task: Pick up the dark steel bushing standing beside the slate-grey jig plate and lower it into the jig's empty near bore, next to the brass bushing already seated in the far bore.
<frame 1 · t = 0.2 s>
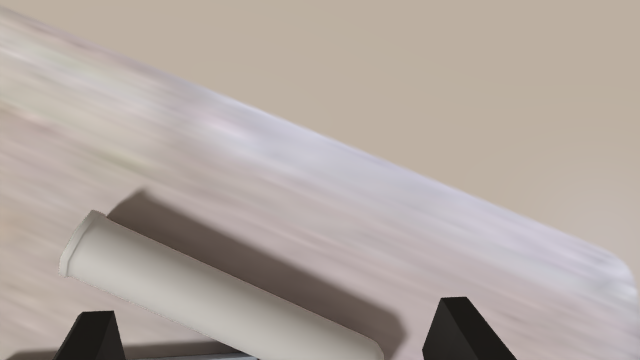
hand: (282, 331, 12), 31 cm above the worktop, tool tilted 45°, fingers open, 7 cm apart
tube: (234, 307, 42), on the worktop
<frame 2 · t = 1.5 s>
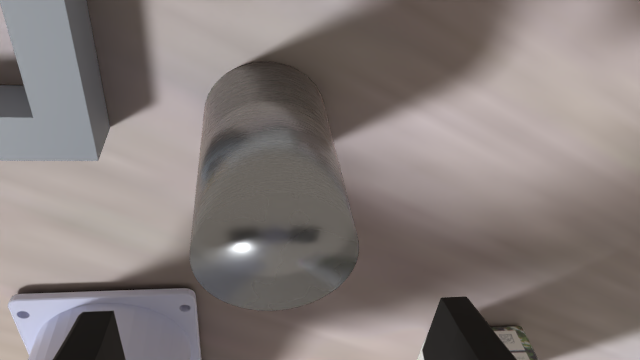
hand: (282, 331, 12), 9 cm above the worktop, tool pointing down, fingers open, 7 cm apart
syrup box: (461, 350, 31), on the worktop
bushing: (265, 117, 19), on the worktop
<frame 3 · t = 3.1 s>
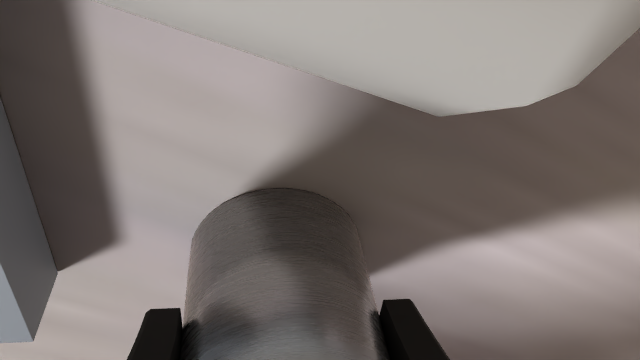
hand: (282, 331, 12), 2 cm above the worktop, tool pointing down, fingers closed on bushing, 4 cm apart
bushing: (276, 253, 14), on the worktop, touching gripper
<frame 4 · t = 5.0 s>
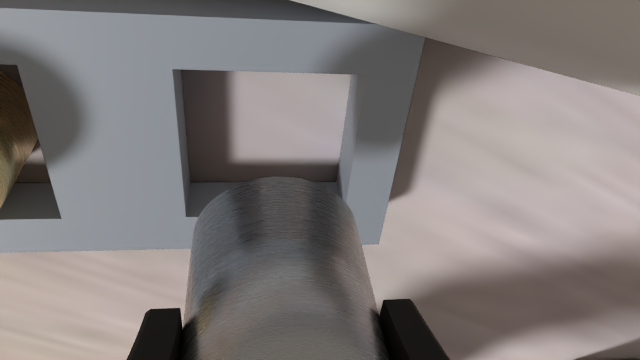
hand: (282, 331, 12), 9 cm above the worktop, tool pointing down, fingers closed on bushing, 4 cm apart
jig: (123, 117, 18), on the worktop
bushing: (276, 240, 14), point 6 cm above the worktop, touching gripper
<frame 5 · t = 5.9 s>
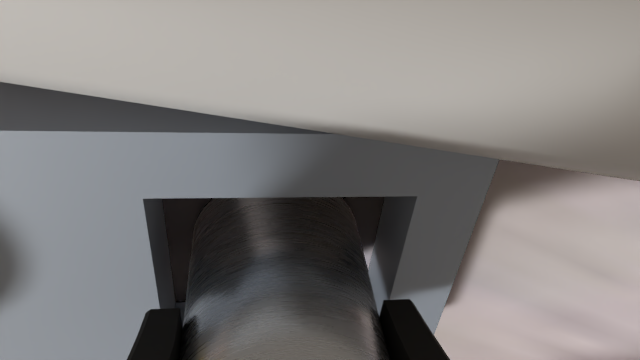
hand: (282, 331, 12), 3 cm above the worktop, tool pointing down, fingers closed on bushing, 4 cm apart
jig: (83, 234, 13), on the worktop
bushing: (276, 240, 14), resting in jig, touching gripper
when the fingers open (3 cm above the worktop, at t = 6.8 s): bushing stays where it is, resting in jig.
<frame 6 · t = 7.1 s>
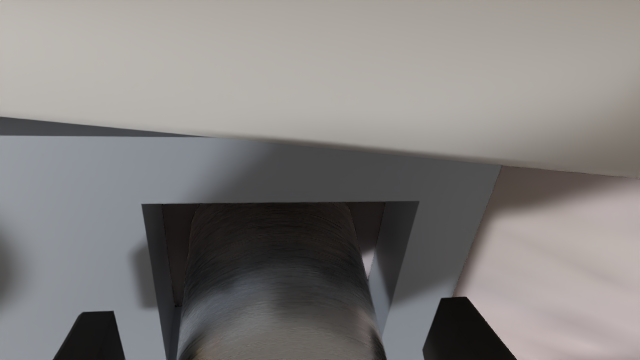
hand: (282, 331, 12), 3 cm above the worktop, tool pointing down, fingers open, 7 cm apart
jig: (81, 238, 13), on the worktop
bushing: (273, 234, 14), resting in jig
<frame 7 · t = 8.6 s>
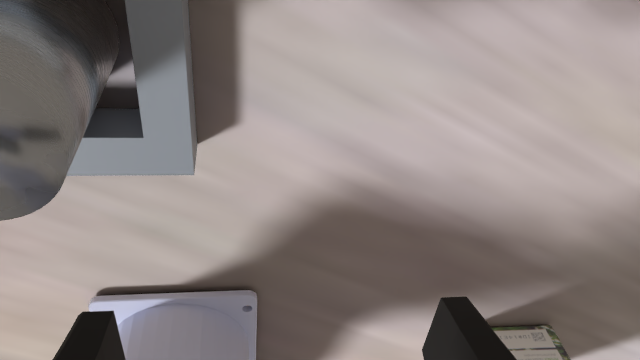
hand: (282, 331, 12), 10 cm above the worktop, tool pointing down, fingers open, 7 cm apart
syrup box: (493, 348, 33), on the worktop
bushing: (49, 31, 17), resting in jig
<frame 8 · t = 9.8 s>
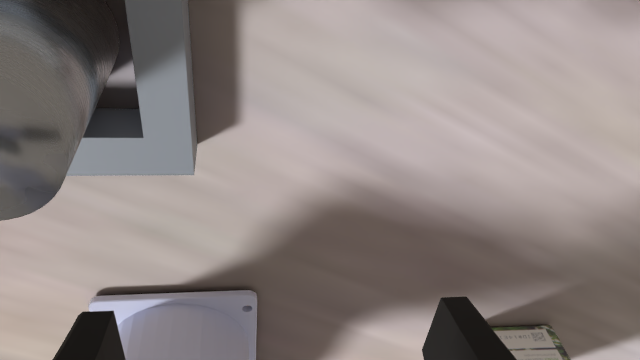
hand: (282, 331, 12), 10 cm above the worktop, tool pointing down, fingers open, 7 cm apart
syrup box: (493, 348, 33), on the worktop
bushing: (49, 31, 17), resting in jig
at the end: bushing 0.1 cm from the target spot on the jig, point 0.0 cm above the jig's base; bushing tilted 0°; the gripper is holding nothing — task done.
